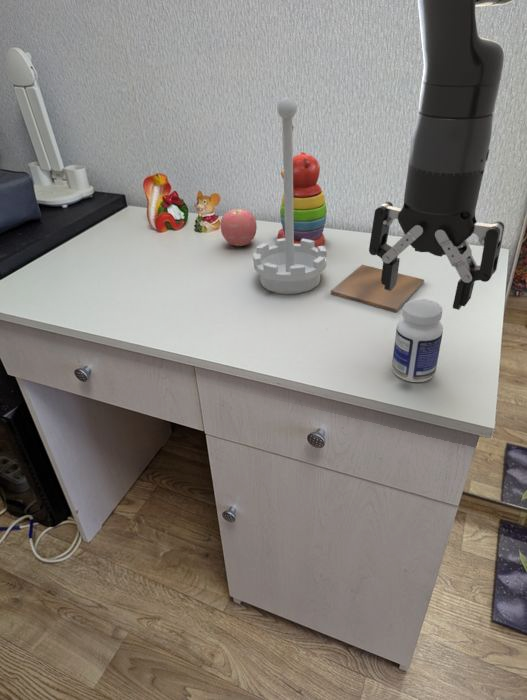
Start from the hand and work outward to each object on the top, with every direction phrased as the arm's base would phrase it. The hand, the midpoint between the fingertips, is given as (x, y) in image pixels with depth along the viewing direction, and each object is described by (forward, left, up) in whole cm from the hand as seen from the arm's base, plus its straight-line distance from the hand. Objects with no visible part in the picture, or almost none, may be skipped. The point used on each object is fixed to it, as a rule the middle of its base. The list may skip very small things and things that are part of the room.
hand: (423, 296), depth 60 cm
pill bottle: (0, 0, -12) cm, 12 cm away
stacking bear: (+36, -29, -12) cm, 48 cm away
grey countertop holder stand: (+29, -14, -12) cm, 34 cm away
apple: (+47, -22, -12) cm, 53 cm away
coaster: (+14, -19, -11) cm, 26 cm away
